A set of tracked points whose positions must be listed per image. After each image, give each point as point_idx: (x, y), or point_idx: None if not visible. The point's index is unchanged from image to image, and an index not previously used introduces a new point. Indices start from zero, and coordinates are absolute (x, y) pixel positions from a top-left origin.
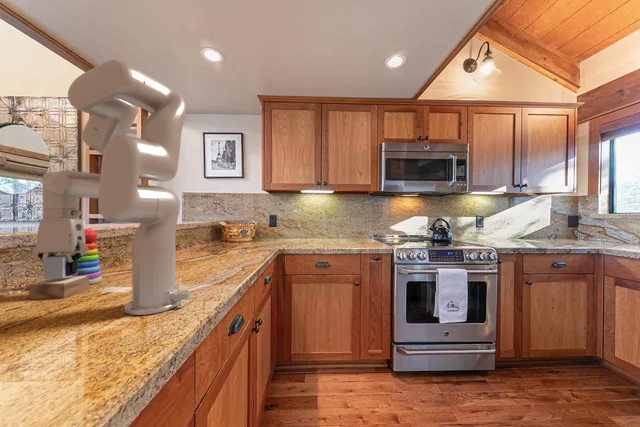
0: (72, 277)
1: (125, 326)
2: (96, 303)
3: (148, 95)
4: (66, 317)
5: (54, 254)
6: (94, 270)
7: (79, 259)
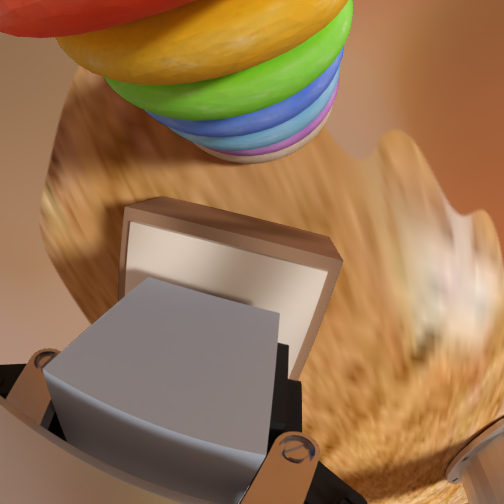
0: (249, 296)
1: (435, 496)
2: (401, 435)
3: None
4: (353, 484)
5: (48, 421)
6: (324, 107)
7: (316, 445)
